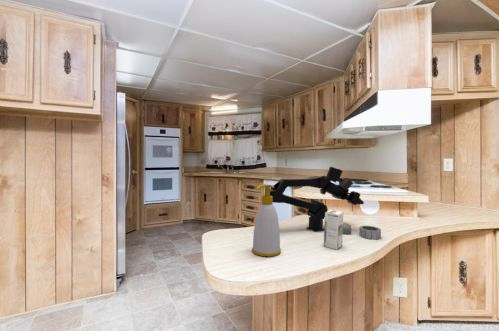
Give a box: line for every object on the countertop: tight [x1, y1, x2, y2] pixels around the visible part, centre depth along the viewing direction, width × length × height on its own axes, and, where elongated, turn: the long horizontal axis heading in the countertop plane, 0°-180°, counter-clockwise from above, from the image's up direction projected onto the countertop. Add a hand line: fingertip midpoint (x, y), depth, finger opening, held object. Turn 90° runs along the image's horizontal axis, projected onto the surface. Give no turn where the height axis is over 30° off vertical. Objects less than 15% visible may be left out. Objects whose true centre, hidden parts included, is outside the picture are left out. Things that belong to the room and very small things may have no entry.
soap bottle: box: [251, 183, 282, 257], centre depth 94 cm, size 11×12×26 cm
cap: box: [343, 223, 352, 236], centre depth 118 cm, size 5×5×4 cm
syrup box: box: [323, 209, 344, 250], centre depth 100 cm, size 6×6×14 cm
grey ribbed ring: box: [358, 225, 382, 241], centre depth 113 cm, size 9×9×4 cm
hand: (357, 201), depth 128 cm, fingers open, 9 cm apart
